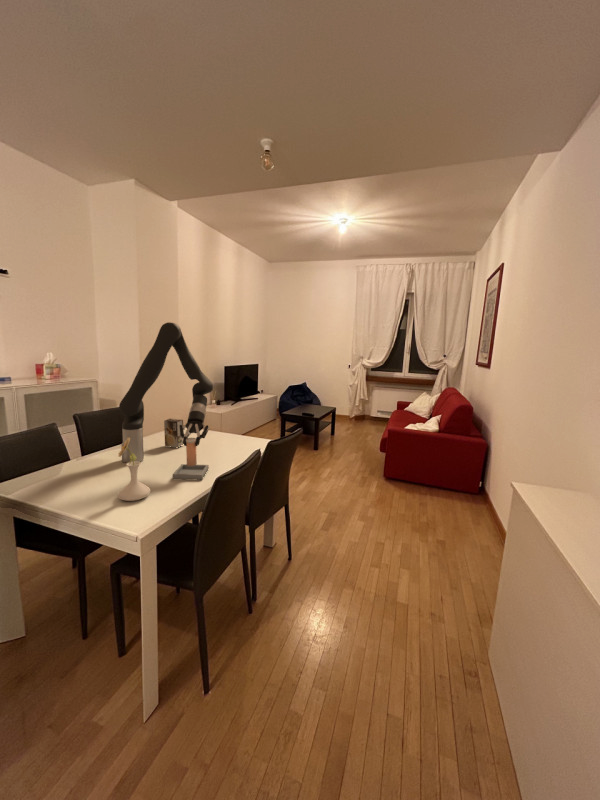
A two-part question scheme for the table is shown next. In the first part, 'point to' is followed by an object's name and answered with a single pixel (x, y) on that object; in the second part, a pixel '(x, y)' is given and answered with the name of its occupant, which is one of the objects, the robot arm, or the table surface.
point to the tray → (190, 472)
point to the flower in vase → (132, 479)
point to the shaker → (191, 451)
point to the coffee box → (173, 432)
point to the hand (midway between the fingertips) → (190, 445)
